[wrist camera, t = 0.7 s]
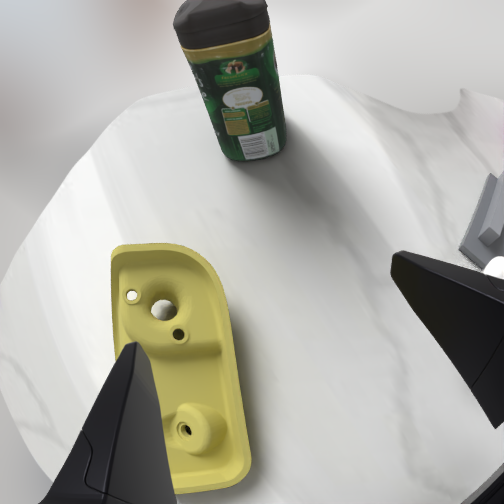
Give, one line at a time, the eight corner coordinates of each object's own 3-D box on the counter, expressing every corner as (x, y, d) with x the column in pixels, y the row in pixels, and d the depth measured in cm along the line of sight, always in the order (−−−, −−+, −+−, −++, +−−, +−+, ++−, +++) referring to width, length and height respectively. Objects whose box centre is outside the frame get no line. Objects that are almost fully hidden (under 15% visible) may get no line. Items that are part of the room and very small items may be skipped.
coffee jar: (219, 115, 35) (175, -10, 18) (280, 105, 34) (257, -27, 18) (220, 170, 32) (157, 20, 15) (292, 159, 31) (271, -5, 14)
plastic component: (256, 481, 17) (127, 496, 14) (233, 456, 24) (134, 466, 21) (220, 241, 24) (97, 245, 21) (206, 269, 30) (111, 272, 27)
